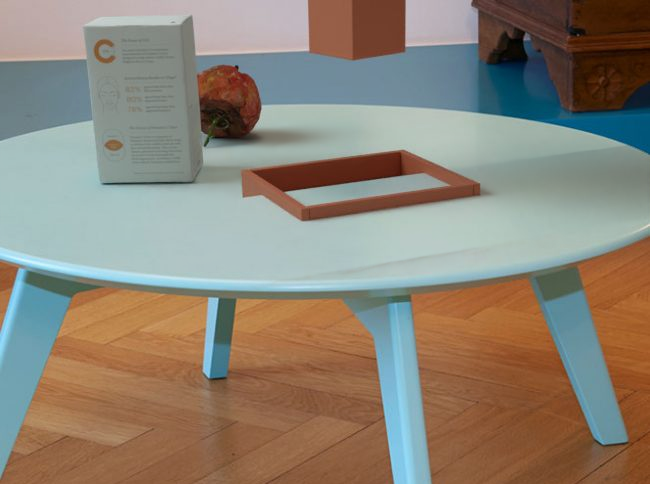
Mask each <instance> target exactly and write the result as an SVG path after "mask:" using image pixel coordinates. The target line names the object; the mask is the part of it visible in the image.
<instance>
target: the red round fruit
mask: <svg viewBox="0 0 650 484" xmlns="http://www.w3.org/2000/svg"><path fill="white" fill-rule="evenodd" d="M239 69H240V66H239V65H238V64H235V65H234V66H233V65H229V64H218V65H215V66H211V67H209V68H208V69H205V70H203V71H200V72H197V81H198V94H199V106H200V120H201V133H202V134H204V135H207V136H206V138H205V141H204V143H203V144H202V147H203V148H207V146H208V144H209V142H210V139H211V138H212V137H215V138H217V137H219V138H221V137H230V138H243V137H245V136H247V135H249V134H250V133H251V132H252V131H253V130H254V128H255V127H256V125H257V123H258V122H259V121H260V117H261V113H262V112H261V111H262V109H263V108H262V107H263V105H262V101H261V97H260V92H259V90H258V89H259V88H258V86H257V84H256V82H255V79H254V78H253V77H252V76H250V75H249V74H248V73H246V72H240V71H239Z"/></svg>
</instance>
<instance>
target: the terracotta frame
mask: <svg viewBox="0 0 650 484" xmlns="http://www.w3.org/2000/svg"><path fill="white" fill-rule="evenodd" d="M240 174H241V175H240V177H241V194H242V195H241V196H242V197H241V198H242V199H243V198H250V197H251V198H252V197H260V196H263V197H265V198H266V199H268V200H269V201H270V202H272V203H273V204H275V205H276V206H278V207H279V208H281V209H283V210H284V211H286V212H287V213H289V214H290V215H291V216H293V217H294V218H296V219H297V220H298V221H301V222H307V221H313V220H320V219H326V218H334V217H340V216H346V215H353V214H361V213H366V212H367V213H368V212H374V211H380V210H388V209H394V208H401V207H407V206H413V205H420V204H427V203H428V204H429V203H436V202H442V201H448V200H455V199H461V198H468V197H475V196H481V183H480V182H478V181H475V180H473V179H471V178H469V177H467V176H464V175H462V174H461V173H457V172H455V171H453V170H451V169H449V168H446V167H444V166H442V165H439V164H437V163H435V162H433V161H430V160H428V159H426V158H424V157H422V156H419V155H417V154H414V153H412V152H410V151H408V150H406V149H398V150H389V151H388V150H387V151H380V152H372V153H365V154H364V153H363V154H357V155H349V156H342V157H334V158H327V159H326V158H325V159H319V160H312V161H311V160H310V161H303V162H296V163H295V162H294V163H288V164H287V163H286V164H278V165H271V166H264V167H255V168H249V169H248V168H247V169H241V170H240ZM419 174H420V175H421V174H425V175H428V176H429V177H432V178H433V179H436V180H438V181H440V182H443V183H445V184H447V185H444V186H437V187H430V188H424V189H416V190H408V191H403V192H402V191H401V192H396V193H389V194H381V195H374V196H367V197H360V198H353V199H346V200H339V201H332V202H326V203H325V202H324V203H319V204H311V205H305V204H304V203H301V202H300V201H298V200H297V199H295V198H294V197H292V196H290V195H289V194H288V193H287V192H294V191H303V190H309V189H316V188H324V187H332V186H339V185H346V184H353V183H361V182H368V181H376V180H383V179H391V178H397V177H398V178H399V177H404V176H412V175H419Z"/></svg>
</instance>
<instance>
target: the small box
mask: <svg viewBox="0 0 650 484" xmlns="http://www.w3.org/2000/svg"><path fill="white" fill-rule="evenodd" d="M82 31H83V38H84V39H83V40H84V46H85V57H86V58H85V59H86V68H87V77H88V87H89V95H90V104H91V105H90V106H91V115H92V124H93V126H92V127H93V136H94V144H95V154H96V163H97V173H98V181H99V183H100V184H119V183H120V184H123V183H127V184H128V183H167V182H168V183H174V182H175V183H181V182H182V183H192V182H194V180H195V178H196V177H197V175H198V173H199V172H200V170H201V168H202V166H203V165H204V153H203V139H202V138H203V137H202V132H201V120H200V106H199V94H198V81H197V74H198V68H197V67H198V66H197V53H196V42H195V40H196V39H195V29H194V19H193V14H166V15H165V14H163V15H162V14H161V15H121V16H119V15H118V16H116V15H115V16H99V17H98V18H96V19H93V20H92V21H90V22H87V23H86V24H84V25H82Z"/></svg>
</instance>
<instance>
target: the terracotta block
mask: <svg viewBox="0 0 650 484" xmlns="http://www.w3.org/2000/svg"><path fill="white" fill-rule="evenodd" d="M406 5H407V1H406V0H307V14H308V16H307V17H308V19H307V20H308V48H309V49H308V52H309V53H310V54H315V55H320V56H325V57H331V58H336V59H342V60H346V61H347V60H348V61H358V60H365V59H371V58H379V57H385V56H391V55H397V54H398V55H399V54H404V53H405V52H406V27H407V26H406V23H407V21H406V20H407V19H406V17H407V16H406V13H407V11H406V9H407V6H406Z"/></svg>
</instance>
